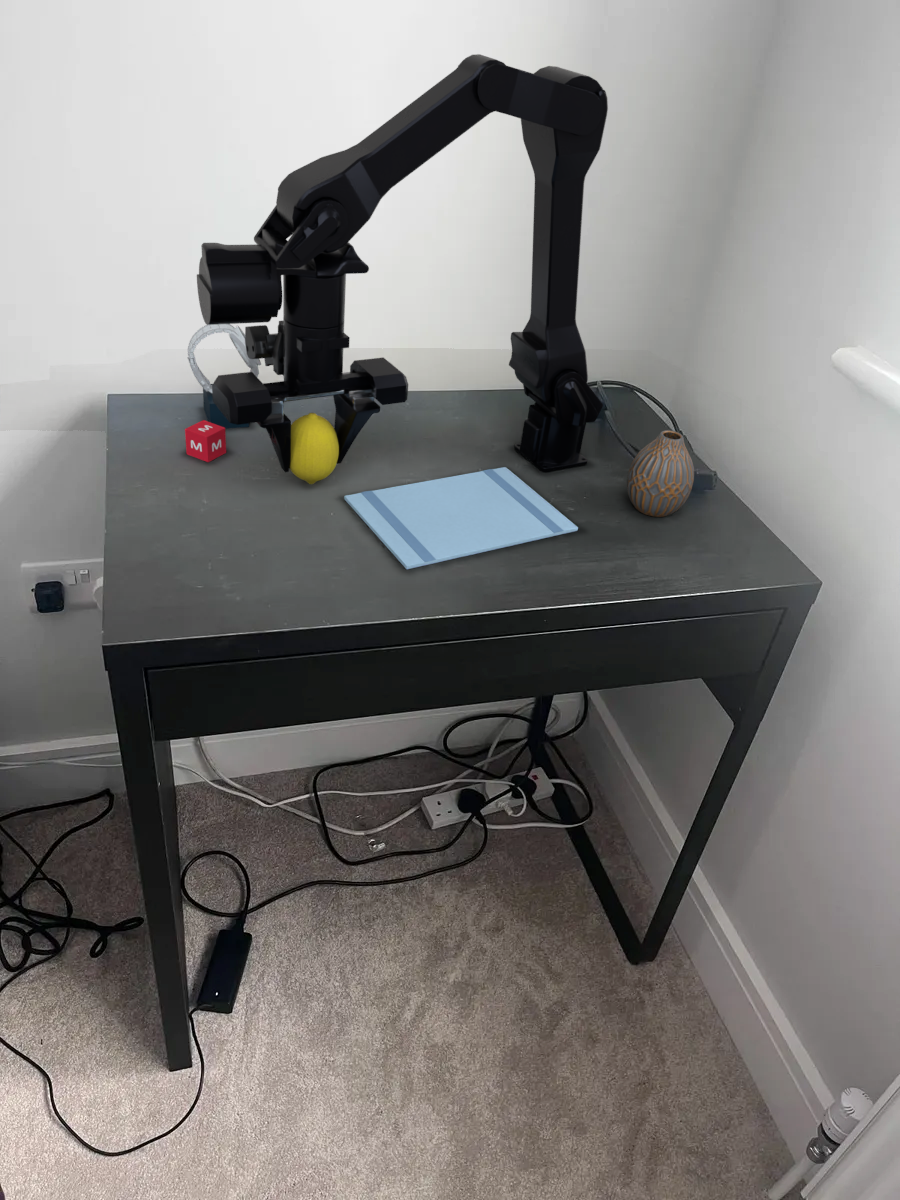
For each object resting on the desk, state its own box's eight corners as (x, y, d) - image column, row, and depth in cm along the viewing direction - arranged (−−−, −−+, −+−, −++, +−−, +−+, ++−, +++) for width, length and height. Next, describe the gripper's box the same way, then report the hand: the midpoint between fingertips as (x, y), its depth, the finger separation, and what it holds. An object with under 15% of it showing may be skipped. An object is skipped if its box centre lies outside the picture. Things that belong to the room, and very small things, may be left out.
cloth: (505, 469, 104) (505, 466, 104) (577, 530, 95) (578, 527, 94) (344, 499, 95) (344, 495, 95) (406, 569, 85) (407, 565, 85)
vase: (615, 513, 98) (633, 439, 93) (627, 486, 104) (645, 415, 99) (678, 530, 97) (700, 456, 92) (688, 502, 102) (709, 430, 97)
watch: (265, 426, 107) (264, 333, 100) (195, 430, 104) (189, 335, 98) (256, 406, 111) (255, 316, 105) (188, 409, 108) (182, 317, 102)
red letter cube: (204, 444, 101) (203, 419, 100) (226, 452, 100) (225, 427, 99) (186, 454, 99) (184, 428, 97) (208, 462, 98) (206, 437, 96)
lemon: (328, 500, 94) (330, 429, 89) (276, 490, 95) (276, 419, 90) (344, 476, 99) (347, 407, 94) (295, 467, 99) (295, 398, 95)
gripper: (366, 285, 96) (359, 422, 105) (190, 297, 88) (199, 445, 97) (416, 321, 89) (404, 465, 98) (228, 338, 80) (234, 495, 89)
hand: (311, 466), depth 95 cm, fingers closed on lemon, 5 cm apart
